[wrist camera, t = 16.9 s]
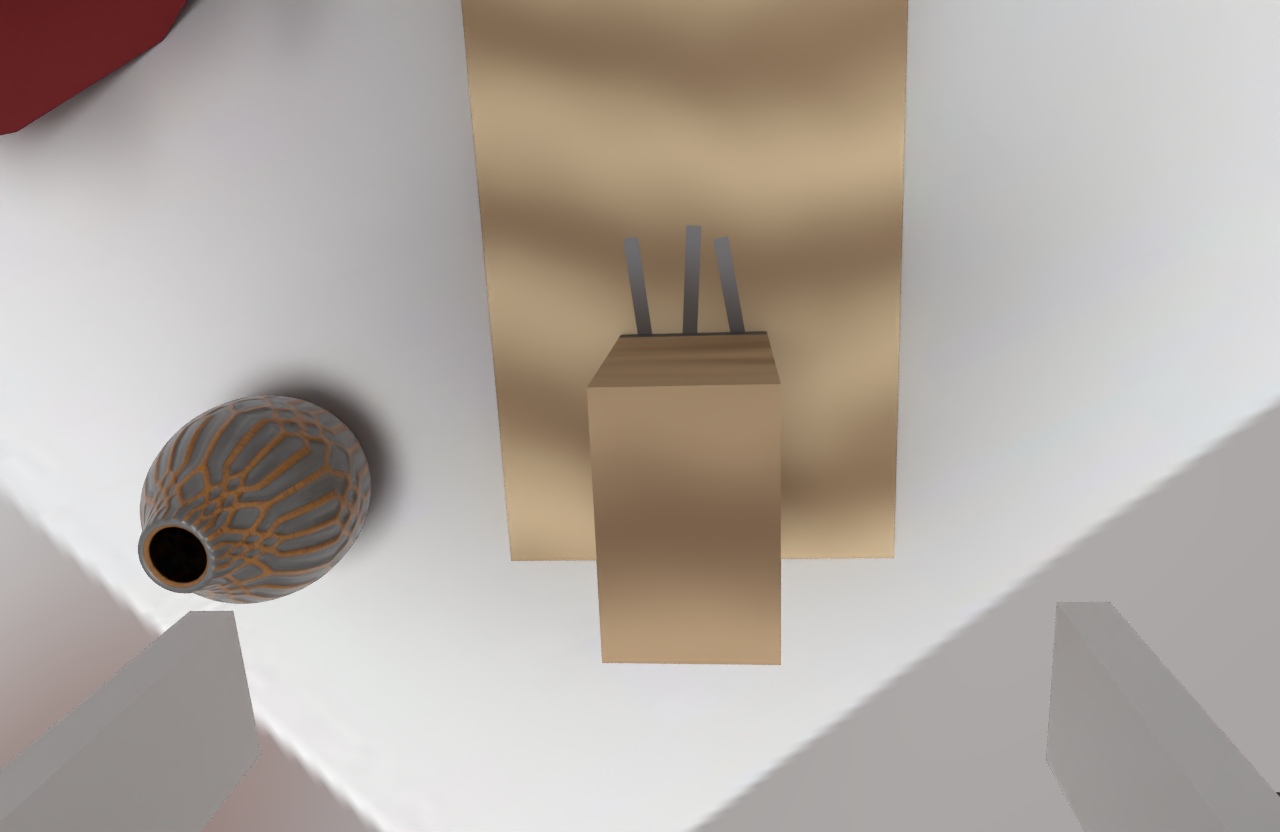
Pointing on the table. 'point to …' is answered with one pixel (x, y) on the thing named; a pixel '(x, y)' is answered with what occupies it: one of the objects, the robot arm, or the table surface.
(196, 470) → the vase
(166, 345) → the table surface
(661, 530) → the wooden block
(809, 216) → the board
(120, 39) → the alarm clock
